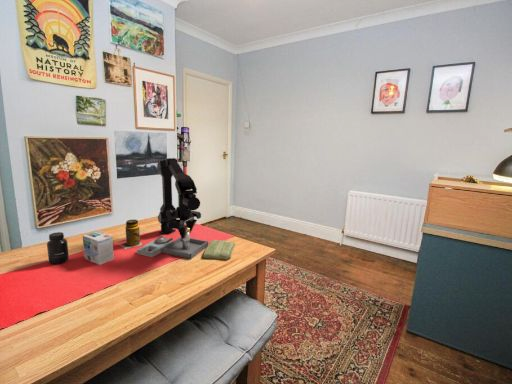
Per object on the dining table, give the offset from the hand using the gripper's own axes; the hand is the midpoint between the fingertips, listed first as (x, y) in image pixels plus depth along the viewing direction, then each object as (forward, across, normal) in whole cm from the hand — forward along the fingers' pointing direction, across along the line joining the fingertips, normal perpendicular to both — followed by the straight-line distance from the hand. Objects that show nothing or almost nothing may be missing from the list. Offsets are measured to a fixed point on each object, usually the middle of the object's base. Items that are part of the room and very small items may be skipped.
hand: (185, 236), depth 126 cm
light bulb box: (+7, +23, -28) cm, 37 cm away
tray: (+6, 0, 0) cm, 6 cm away
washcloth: (+7, -5, +15) cm, 18 cm away
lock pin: (+6, 0, 0) cm, 6 cm away
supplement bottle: (+7, +31, -41) cm, 52 cm away
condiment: (+7, +6, -27) cm, 28 cm away
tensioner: (+6, +5, -13) cm, 15 cm away
